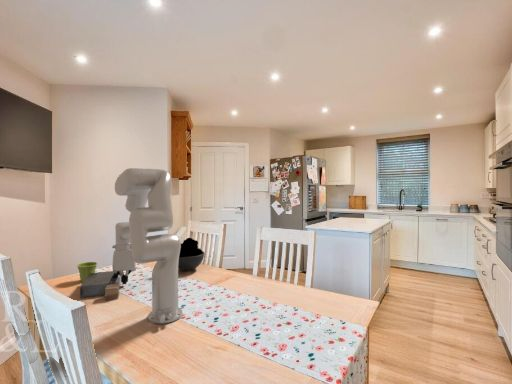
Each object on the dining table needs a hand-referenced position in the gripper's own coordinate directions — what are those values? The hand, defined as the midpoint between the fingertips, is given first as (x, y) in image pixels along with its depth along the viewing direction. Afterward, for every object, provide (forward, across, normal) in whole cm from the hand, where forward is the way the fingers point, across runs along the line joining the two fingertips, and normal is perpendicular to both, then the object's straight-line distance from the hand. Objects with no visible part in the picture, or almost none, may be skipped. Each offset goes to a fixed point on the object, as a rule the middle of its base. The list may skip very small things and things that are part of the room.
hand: (124, 283), depth 138 cm
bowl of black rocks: (+2, +32, +18) cm, 37 cm away
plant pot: (+1, -20, +16) cm, 25 cm away
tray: (+1, -9, 0) cm, 9 cm away
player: (+1, -10, 0) cm, 10 cm away
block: (+2, -3, -14) cm, 14 cm away
